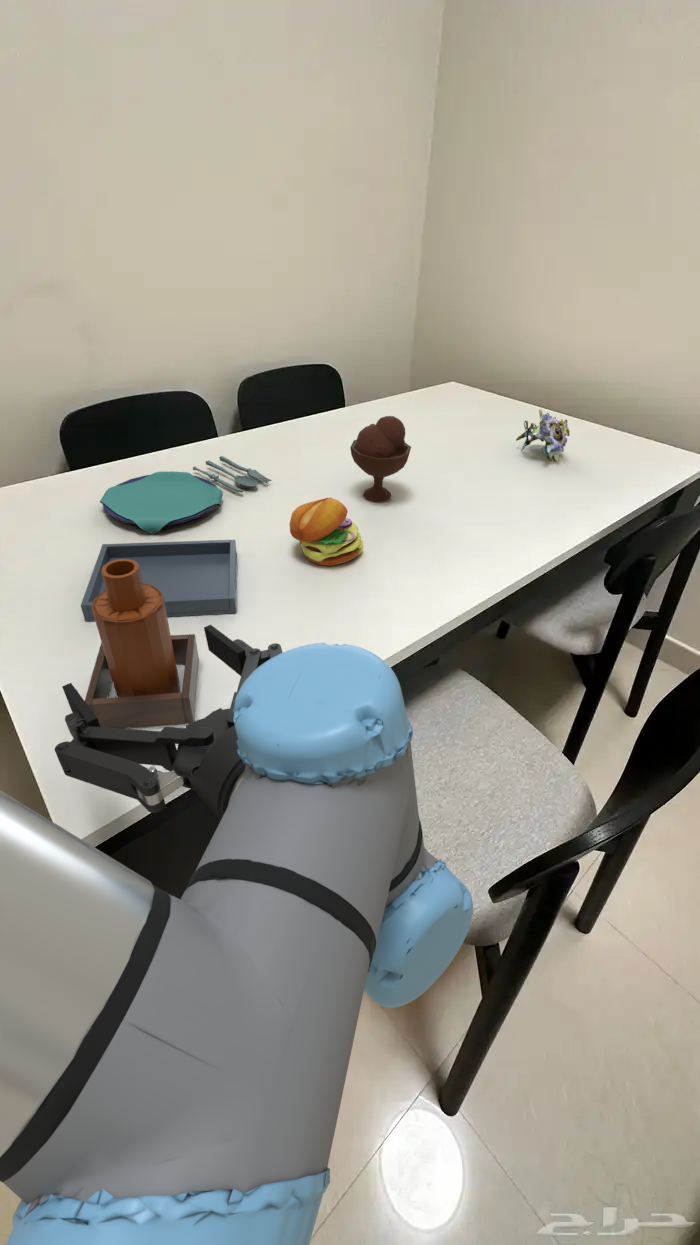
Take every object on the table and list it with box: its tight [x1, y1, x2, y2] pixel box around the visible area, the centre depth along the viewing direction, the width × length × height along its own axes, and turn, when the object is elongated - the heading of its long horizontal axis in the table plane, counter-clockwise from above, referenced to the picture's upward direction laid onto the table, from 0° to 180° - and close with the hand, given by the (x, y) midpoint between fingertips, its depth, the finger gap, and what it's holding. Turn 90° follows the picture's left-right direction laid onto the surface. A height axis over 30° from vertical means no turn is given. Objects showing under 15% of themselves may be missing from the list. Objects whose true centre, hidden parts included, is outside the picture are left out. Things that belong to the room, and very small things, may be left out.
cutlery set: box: [99, 455, 273, 535], centre depth 105 cm, size 20×30×2 cm, turn 139°
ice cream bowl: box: [349, 415, 412, 503], centre depth 105 cm, size 11×11×15 cm
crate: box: [84, 633, 200, 729], centre depth 66 cm, size 11×11×4 cm
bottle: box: [92, 559, 181, 697], centre depth 62 cm, size 7×7×17 cm
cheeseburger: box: [289, 497, 364, 566], centre depth 90 cm, size 10×11×10 cm
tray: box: [80, 539, 238, 622], centre depth 83 cm, size 20×16×3 cm
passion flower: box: [515, 409, 571, 463], centre depth 128 cm, size 11×11×12 cm
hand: (144, 665), depth 54 cm, fingers open, 13 cm apart
